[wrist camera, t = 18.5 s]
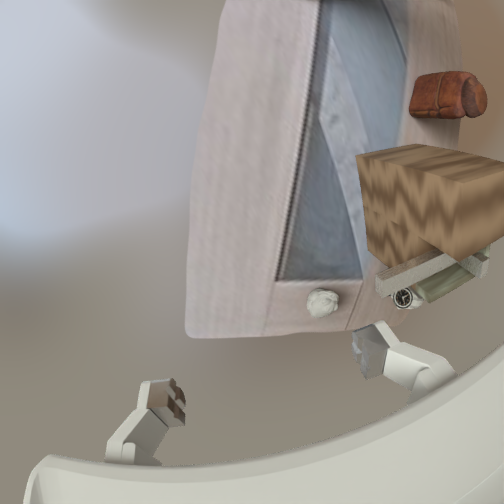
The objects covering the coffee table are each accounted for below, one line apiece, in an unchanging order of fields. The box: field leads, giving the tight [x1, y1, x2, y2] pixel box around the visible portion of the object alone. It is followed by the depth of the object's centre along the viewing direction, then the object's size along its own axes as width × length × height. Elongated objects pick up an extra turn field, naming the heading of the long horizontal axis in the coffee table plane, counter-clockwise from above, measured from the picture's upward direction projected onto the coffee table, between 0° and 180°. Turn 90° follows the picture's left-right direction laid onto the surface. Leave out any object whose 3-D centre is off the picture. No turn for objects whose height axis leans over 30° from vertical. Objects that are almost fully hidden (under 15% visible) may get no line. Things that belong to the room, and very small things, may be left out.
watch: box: [389, 268, 424, 309], centre depth 54 cm, size 6×8×11 cm
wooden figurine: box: [409, 71, 487, 119], centre depth 34 cm, size 12×6×18 cm, turn 161°
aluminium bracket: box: [375, 248, 489, 298], centre depth 33 cm, size 3×18×8 cm, turn 106°
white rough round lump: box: [307, 288, 339, 318], centre depth 53 cm, size 6×7×7 cm
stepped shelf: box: [356, 144, 504, 303], centre depth 38 cm, size 20×16×26 cm
